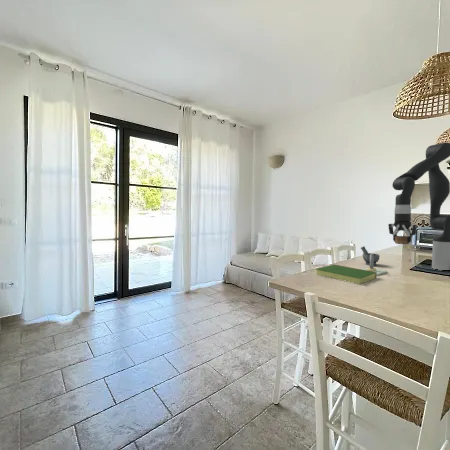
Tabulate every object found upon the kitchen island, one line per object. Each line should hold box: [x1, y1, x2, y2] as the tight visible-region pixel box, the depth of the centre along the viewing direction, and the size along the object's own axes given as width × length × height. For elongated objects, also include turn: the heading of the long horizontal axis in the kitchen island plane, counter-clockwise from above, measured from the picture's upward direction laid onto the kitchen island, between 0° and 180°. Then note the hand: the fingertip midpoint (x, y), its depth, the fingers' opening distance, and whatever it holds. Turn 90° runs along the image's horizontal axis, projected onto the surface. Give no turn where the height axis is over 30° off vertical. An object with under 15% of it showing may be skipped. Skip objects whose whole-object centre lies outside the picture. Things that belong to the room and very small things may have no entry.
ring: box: [394, 235, 410, 245], centre depth 143 cm, size 6×6×4 cm
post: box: [360, 253, 388, 276], centre depth 147 cm, size 12×12×11 cm
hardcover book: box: [316, 264, 377, 285], centre depth 139 cm, size 25×19×4 cm
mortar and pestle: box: [360, 245, 381, 267], centre depth 167 cm, size 11×9×12 cm
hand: (401, 242), depth 143 cm, fingers closed on ring, 6 cm apart
